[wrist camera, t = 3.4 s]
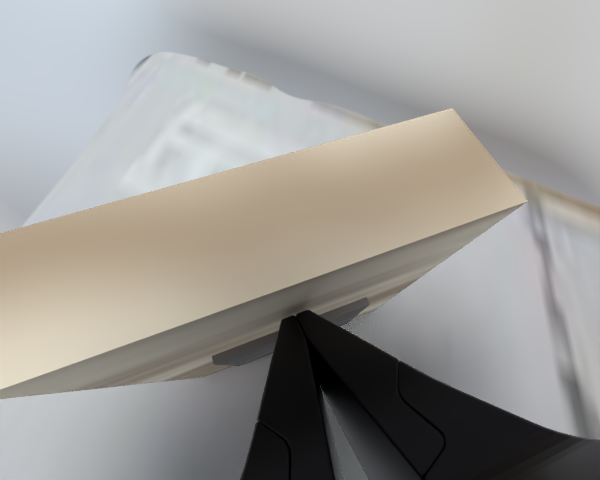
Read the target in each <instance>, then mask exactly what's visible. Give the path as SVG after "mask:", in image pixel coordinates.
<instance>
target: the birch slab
mask: <svg viewBox="0 0 600 480" xmlns="http://www.w3.org/2000/svg"><path fill="white" fill-rule="evenodd" d="M526 202H527V200H526V199H525V197H524V196H523V195H522V194H521V192H520V191H519V190H518V189H517V187H516V186H515V185H514V184H513V183H512V181H511V180H510V179H509V178H508V176H507V175H506V174H505V173H504V171H503V170H502V169H501V168H500V166H499V165H498V164H497V163H496V162H495V160H494V159H493V158H492V157H491V155H490V154H489V153H488V152H487V150H486V149H485V148H484V147H483V145H481V143H480V142H479V140H478V139H477V138H476V137H475V136H474V134H473V133H472V132H471V131H470V129H469V128H468V127H467V126H466V124H465V123H464V122H463V121H462V119H461V118H460V117H459V116H458V115H457V113H456V112H455V111H454V110H453V108H450V109H447V110H443V111H440V112H436V113H432V114H429V115H425V116H422V117H418V118H414V119H411V120H407V121H404V122H401V123H396V124H393V125H389V126H386V127H382V128H378V129H375V130H371V131H368V132H364V133H360V134H357V135H353V136H350V137H346V138H342V139H339V140H335V141H332V142H328V143H324V144H321V145H317V146H314V147H310V148H306V149H303V150H299V151H296V152H292V153H288V154H285V155H281V156H278V157H274V158H270V159H267V160H263V161H260V162H256V163H252V164H249V165H245V166H242V167H238V168H234V169H231V170H227V171H224V172H220V173H216V174H213V175H209V176H206V177H202V178H198V179H195V180H191V181H188V182H184V183H180V184H177V185H173V186H170V187H166V188H162V189H159V190H155V191H152V192H148V193H144V194H141V195H137V196H134V197H130V198H126V199H123V200H119V201H116V202H112V203H108V204H105V205H101V206H98V207H94V208H90V209H87V210H83V211H80V212H76V213H72V214H69V215H65V216H62V217H58V218H54V219H51V220H47V221H44V222H40V223H36V224H33V225H29V226H26V227H22V228H18V229H15V230H11V231H8V232H4V233H0V399H5V398H15V397H24V396H33V395H42V394H52V393H61V392H70V391H79V390H89V389H98V388H107V387H116V386H126V385H135V384H144V383H153V382H163V381H172V380H181V379H190V378H200V377H205V376H207V375H210V374H212V373H215V372H218V371H220V370H223V369H225V368H228V367H230V366H233V365H234V366H240V365H242V364H245V363H247V362H250V361H252V360H255V359H257V358H260V357H263V356H265V355H268V354H270V353H273V352H274V348H275V344H276V339H277V335H278V331H279V327H280V323H281V320H282V319H284V318H286V317H289V316H292V315H295V316H296V314H297V313H300V312H302V311H305V310H311V311H312V312H314V313H316V314H318V315H319V316H321V317H323V318H325V319H327V320H328V321H330V322H332V323H334V324H336V325H337V326H341V325H344V324H347V323H348V322H349V321H351V320H352V319H353V318H356V317H358V316H361V315H363V314H366V313H368V312H371V311H373V310H375V309H377V308H378V307H380V306H381V305H382V304H384V303H385V302H387V301H388V300H389V299H391V298H392V297H394V296H395V295H396V294H398V293H399V292H401V291H402V290H403V289H405V288H406V287H408V286H409V285H410V284H412V283H413V282H415V281H416V280H418V279H419V278H420V277H422V276H423V275H425V274H426V273H427V272H429V271H430V270H432V269H433V268H434V267H436V266H437V265H439V264H440V263H441V262H443V261H444V260H446V259H447V258H448V257H450V256H451V255H453V254H454V253H456V252H457V251H458V250H460V249H461V248H463V247H464V246H465V245H467V244H468V243H470V242H471V241H472V240H474V239H475V238H477V237H478V236H479V235H481V234H482V233H484V232H485V231H487V230H488V229H489V228H491V227H492V226H494V225H495V224H496V223H498V222H499V221H501V220H502V219H503V218H505V217H506V216H508V215H509V214H510V213H512V212H513V211H515V210H516V209H517V208H519V207H520V206H522V205H523V204H525V203H526Z"/></svg>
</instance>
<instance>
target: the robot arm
mask: <svg viewBox="0 0 600 480" xmlns="http://www.w3.org/2000/svg"><path fill="white" fill-rule="evenodd" d="M321 389H322V391H323V393H324V395H325V397H326V399H327V401H328V403H329V405H330V407H331V409H332V411H333V413H334V415H335V416H336V418H337V420H338V422H339V424H340V426H341V428H342V430H343V432H344V434H345V435H346V437H347V439H348V441H349V443H350V445H351V447H352V449H353V451H354V452H355V454H356V456H357V458H358V460H359V462H360V464H361V466H362V468H363V470H364V471H365V473H366V475H367V477H368V479H369V480H600V440H596V439H587V438H582V437H577V436H572V435H568V434H564V433H561V432H557V431H554V430H551V429H548V428H545V427H543V426H540V425H538V424H535V423H533V422H530V421H528V420H526V419H523V418H521V417H519V416H517V415H514V414H512V413H510V412H507V411H505V410H503V409H501V408H498V407H496V406H494V405H491V404H489V403H487V402H485V401H482V400H480V399H478V398H475V397H473V396H471V395H468V394H466V393H464V392H462V391H459V390H457V389H455V388H453V387H451V386H449V385H447V384H444V383H442V382H440V381H438V380H436V379H434V378H432V377H430V376H428V375H426V374H424V373H422V372H420V371H419V370H417V369H415V368H413V367H411V366H409V365H408V364H406V363H404V362H402V361H400V362H399V360H398V359H397V358H395V357H393V356H391V355H389V354H388V353H386V352H384V351H382V350H380V349H379V348H377V347H375V346H373V345H371V344H370V343H368V342H366V341H364V340H362V339H361V338H359V337H357V336H355V335H354V334H352V333H350V332H348V331H346V330H345V329H343V328H341V327H339V326H337V325H336V324H334V323H332V322H330V321H328V320H327V319H325V318H323V317H321V316H319V315H318V314H316V313H314V312H312V311H311V310H305V311H302V312H300V313H297V314H296V316H295V315H292V316H289V317H286V318H284V319H282V320H281V323H280V327H279V331H278V335H277V339H276V344H275V348H274V352H273V356H272V360H271V364H270V368H269V372H268V376H267V381H266V385H265V389H264V393H263V397H262V401H261V405H260V409H259V413H258V418H257V423H256V425H255V429H254V433H253V438H252V441H251V445H250V449H249V452H248V456H247V460H246V463H245V467H244V470H243V473H242V476H241V479H240V480H344V478H343V474H342V470H341V466H340V462H339V458H338V454H337V450H336V446H335V442H334V438H333V434H332V430H331V426H330V422H329V418H328V414H327V410H326V406H325V402H324V398H323V394H322V391H321Z"/></svg>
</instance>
